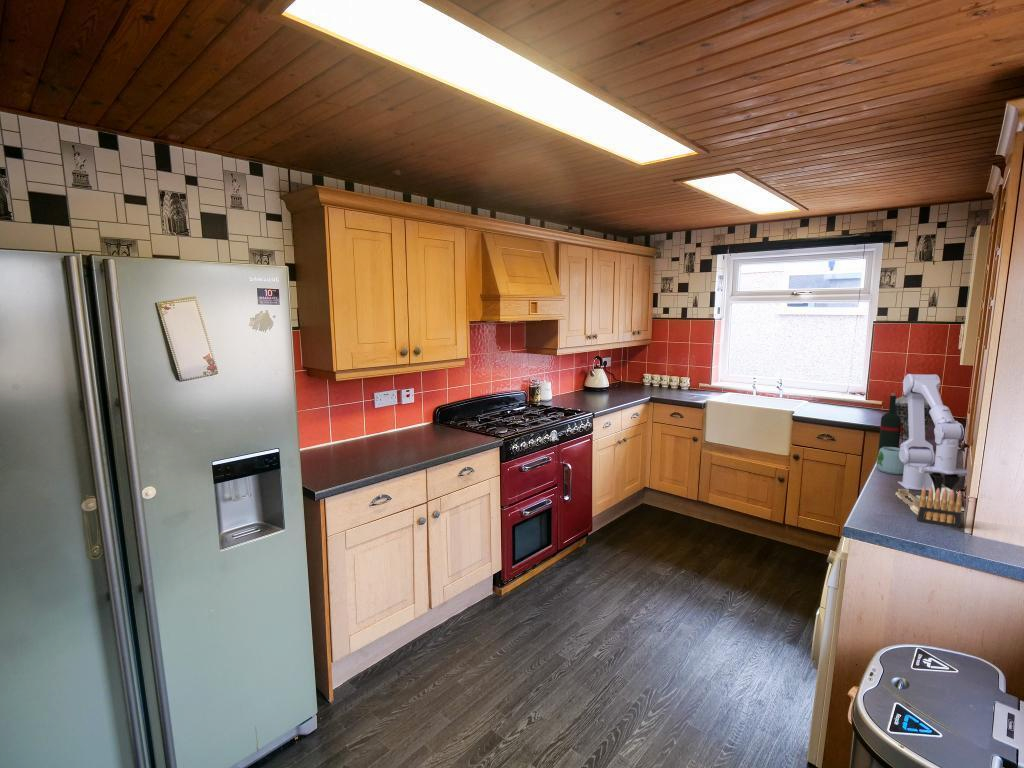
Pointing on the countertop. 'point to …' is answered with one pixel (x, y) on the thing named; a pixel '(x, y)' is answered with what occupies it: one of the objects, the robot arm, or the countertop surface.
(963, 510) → the sage mat
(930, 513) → the ammunition clip
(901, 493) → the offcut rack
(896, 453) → the mug
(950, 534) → the countertop surface
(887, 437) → the wine bottle
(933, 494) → the cream rectangular block
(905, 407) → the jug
